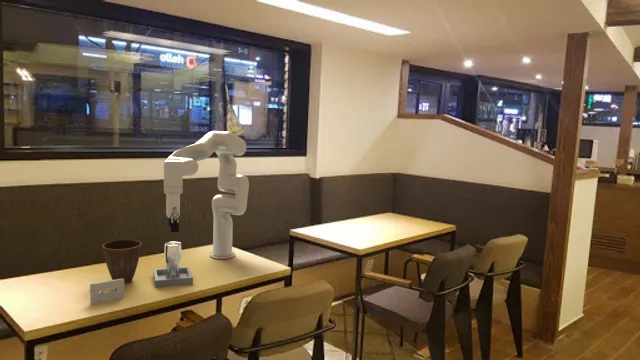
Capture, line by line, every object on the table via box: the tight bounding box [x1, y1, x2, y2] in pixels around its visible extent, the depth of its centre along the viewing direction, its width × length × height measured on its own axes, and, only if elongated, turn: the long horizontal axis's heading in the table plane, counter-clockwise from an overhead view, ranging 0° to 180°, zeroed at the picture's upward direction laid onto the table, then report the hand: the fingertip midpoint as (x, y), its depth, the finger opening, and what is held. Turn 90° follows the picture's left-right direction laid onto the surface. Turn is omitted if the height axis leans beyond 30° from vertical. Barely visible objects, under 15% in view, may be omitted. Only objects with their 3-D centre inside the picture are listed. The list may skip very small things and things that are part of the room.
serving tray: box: [152, 266, 194, 289], centre depth 205 cm, size 15×15×3 cm
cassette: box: [89, 278, 125, 305], centre depth 180 cm, size 12×2×8 cm, turn 129°
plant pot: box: [102, 239, 142, 285], centre depth 200 cm, size 15×15×16 cm
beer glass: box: [164, 241, 182, 279], centre depth 205 cm, size 7×7×15 cm
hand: (173, 229), depth 203 cm, fingers open, 9 cm apart
